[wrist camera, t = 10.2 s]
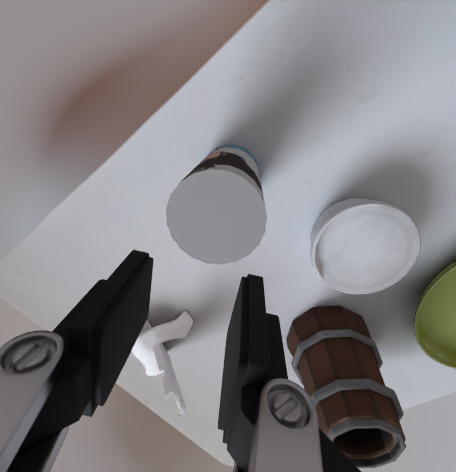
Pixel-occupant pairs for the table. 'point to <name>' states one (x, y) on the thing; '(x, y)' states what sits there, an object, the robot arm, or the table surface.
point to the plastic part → (163, 353)
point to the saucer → (438, 318)
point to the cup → (219, 207)
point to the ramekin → (363, 245)
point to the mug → (347, 385)
